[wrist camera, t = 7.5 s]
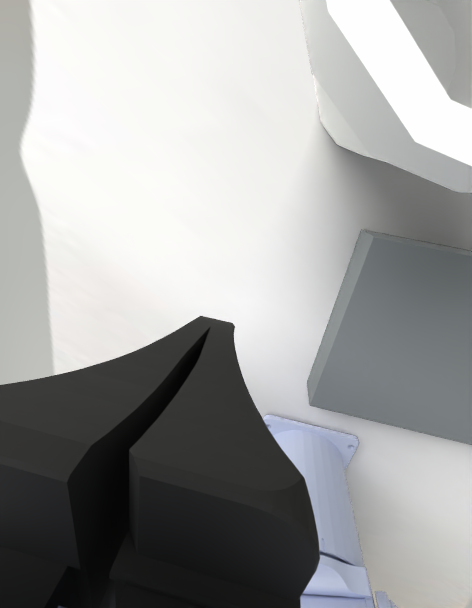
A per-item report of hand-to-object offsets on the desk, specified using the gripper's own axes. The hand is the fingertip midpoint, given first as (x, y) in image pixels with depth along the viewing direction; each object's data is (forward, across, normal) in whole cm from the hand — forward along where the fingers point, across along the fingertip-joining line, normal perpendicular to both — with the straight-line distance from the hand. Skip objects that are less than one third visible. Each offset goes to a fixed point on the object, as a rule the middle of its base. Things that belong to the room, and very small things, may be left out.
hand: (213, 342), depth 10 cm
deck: (+9, -17, +2) cm, 20 cm away
